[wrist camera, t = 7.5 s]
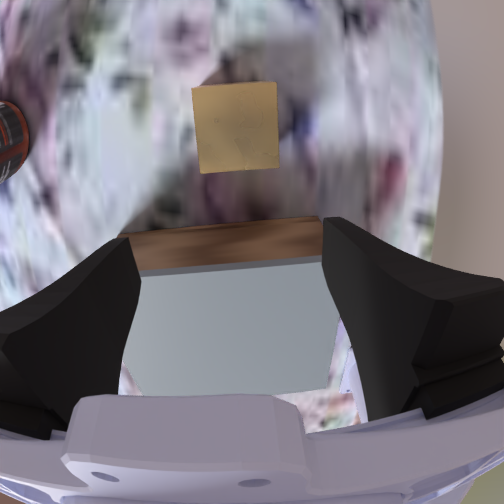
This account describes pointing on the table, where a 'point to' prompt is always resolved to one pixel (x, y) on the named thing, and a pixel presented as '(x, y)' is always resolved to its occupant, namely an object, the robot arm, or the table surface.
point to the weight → (236, 126)
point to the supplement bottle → (12, 140)
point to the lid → (233, 329)
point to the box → (227, 243)
